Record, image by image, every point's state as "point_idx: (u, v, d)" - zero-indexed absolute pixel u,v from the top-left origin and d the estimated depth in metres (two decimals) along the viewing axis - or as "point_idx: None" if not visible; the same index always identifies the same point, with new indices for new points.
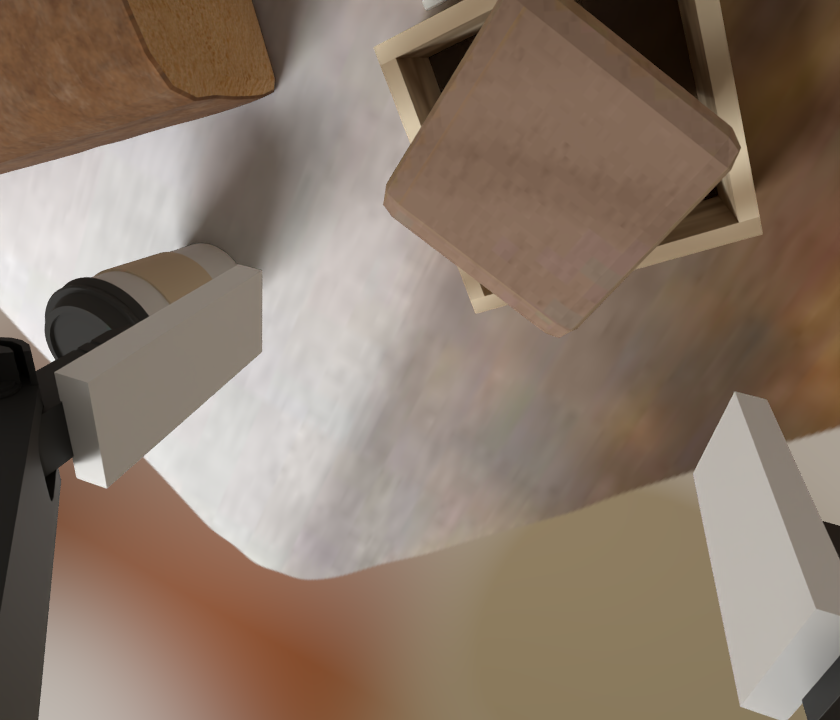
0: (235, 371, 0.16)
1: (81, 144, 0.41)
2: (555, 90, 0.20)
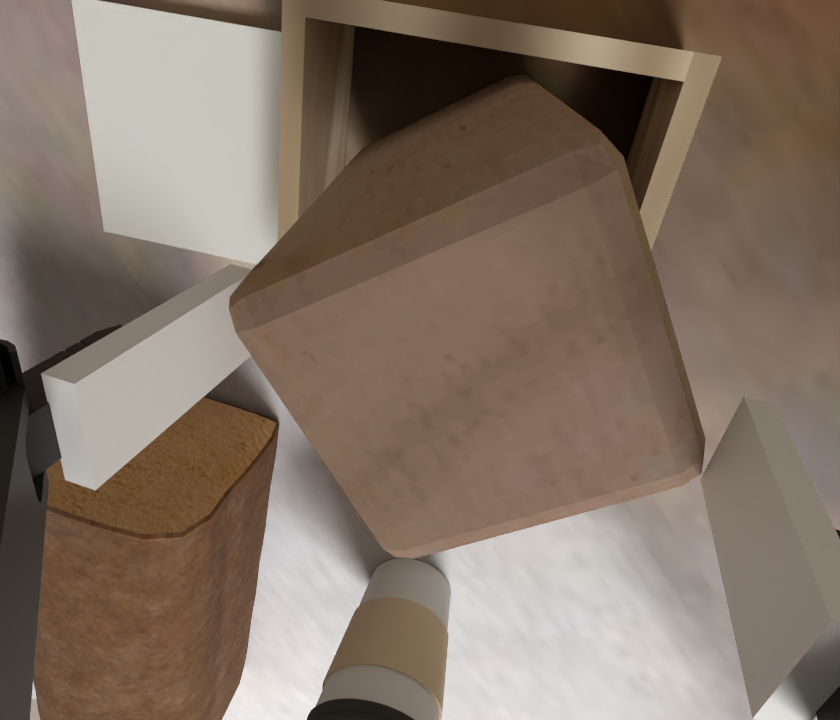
0: (227, 372, 0.16)
1: (229, 604, 0.43)
2: (372, 339, 0.14)
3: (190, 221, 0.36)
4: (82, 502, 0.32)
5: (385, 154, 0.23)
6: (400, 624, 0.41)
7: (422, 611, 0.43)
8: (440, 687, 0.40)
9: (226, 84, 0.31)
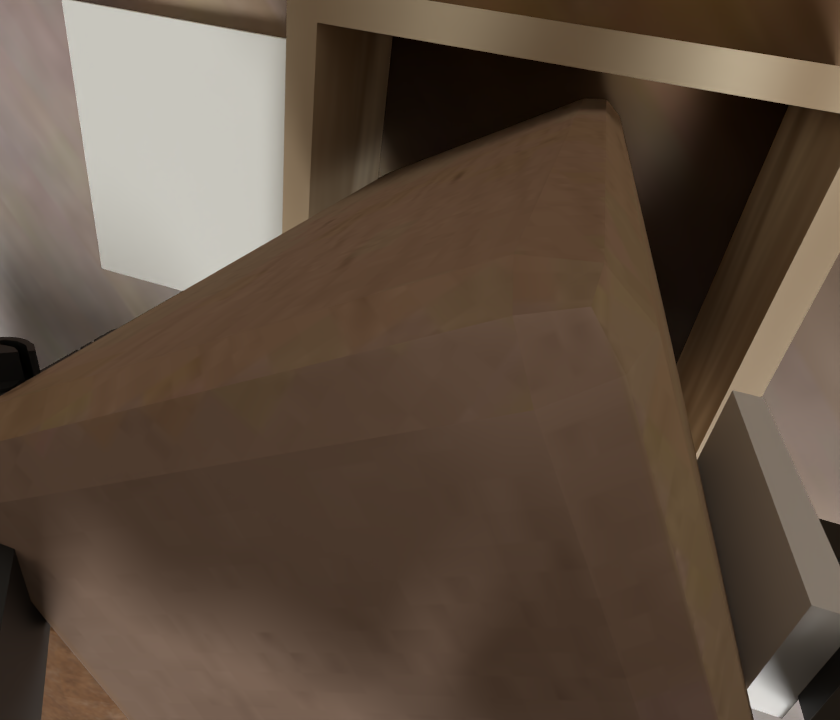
0: None
1: None
2: (136, 574, 0.07)
3: (195, 262, 0.30)
4: None
5: (374, 194, 0.16)
6: None
7: None
8: None
9: (236, 104, 0.26)
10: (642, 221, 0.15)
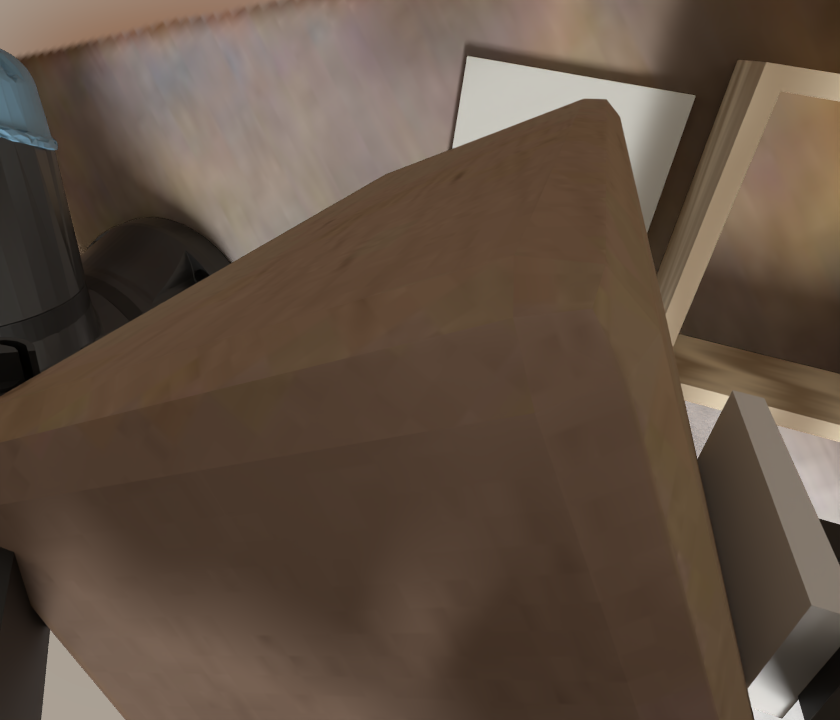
0: None
1: None
2: (135, 577, 0.07)
3: None
4: None
5: (373, 194, 0.16)
6: None
7: None
8: None
9: None
10: None
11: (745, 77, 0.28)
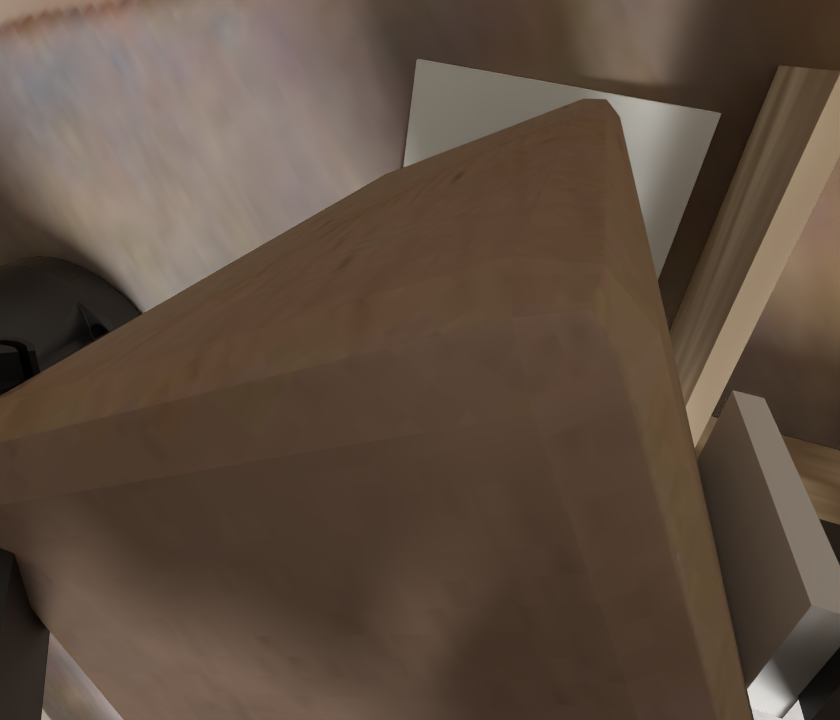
0: None
1: None
2: (133, 578, 0.07)
3: None
4: None
5: (373, 195, 0.16)
6: None
7: None
8: None
9: None
10: (642, 221, 0.15)
11: (798, 91, 0.20)
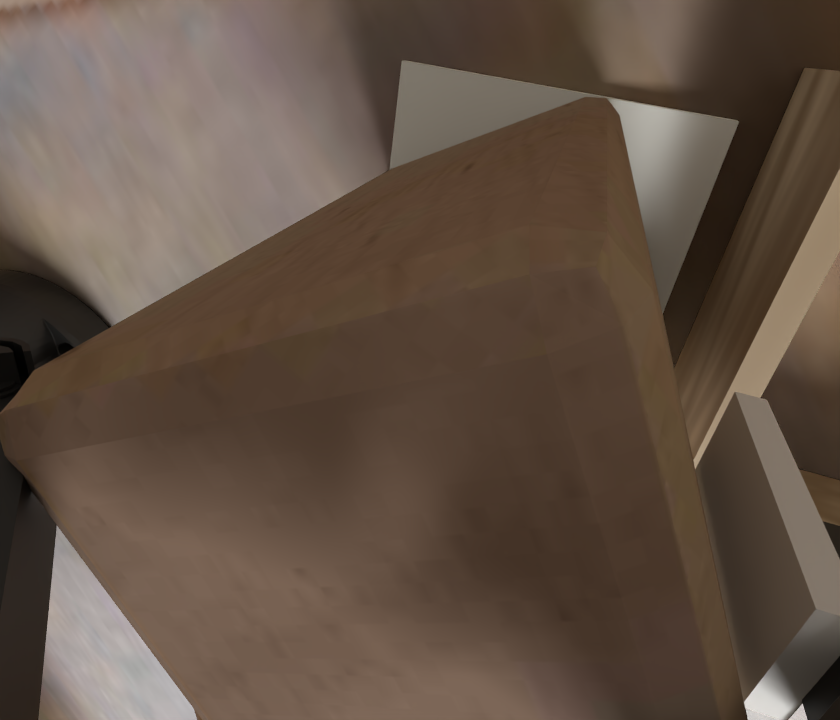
0: None
1: None
2: (183, 517, 0.08)
3: None
4: None
5: (385, 185, 0.17)
6: None
7: None
8: None
9: None
10: None
11: (829, 97, 0.17)
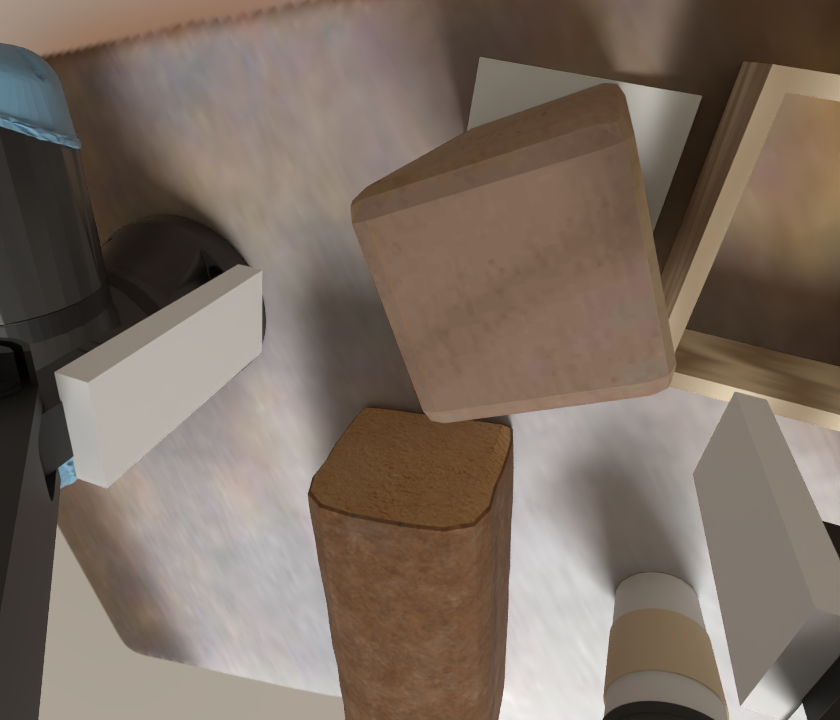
0: (235, 371, 0.16)
1: (499, 602, 0.47)
2: (442, 240, 0.20)
3: None
4: (385, 509, 0.38)
5: (484, 130, 0.29)
6: (681, 636, 0.44)
7: (694, 624, 0.45)
8: None
9: None
10: None
11: (751, 78, 0.29)
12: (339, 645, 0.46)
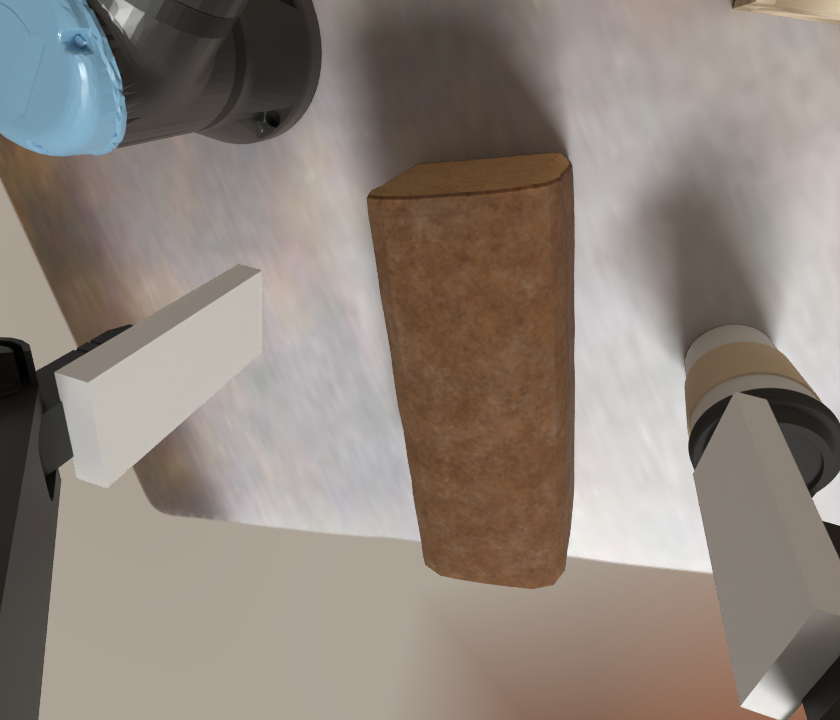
0: (235, 371, 0.16)
1: (569, 342, 0.45)
2: None
3: None
4: (450, 189, 0.36)
5: None
6: (769, 355, 0.41)
7: (780, 353, 0.43)
8: None
9: None
10: None
11: None
12: (406, 394, 0.44)
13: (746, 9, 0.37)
